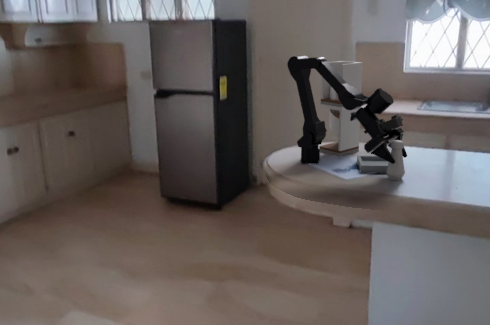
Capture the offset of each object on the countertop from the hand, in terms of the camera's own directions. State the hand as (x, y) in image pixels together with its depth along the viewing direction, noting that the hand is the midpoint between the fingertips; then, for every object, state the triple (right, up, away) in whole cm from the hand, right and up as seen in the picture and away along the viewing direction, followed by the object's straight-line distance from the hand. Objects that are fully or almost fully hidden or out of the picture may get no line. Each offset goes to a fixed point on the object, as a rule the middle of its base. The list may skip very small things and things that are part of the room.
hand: (400, 159), depth 166 cm
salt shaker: (-1, -6, +3) cm, 7 cm away
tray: (-4, -3, +16) cm, 16 cm away
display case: (-13, +3, +38) cm, 40 cm away
